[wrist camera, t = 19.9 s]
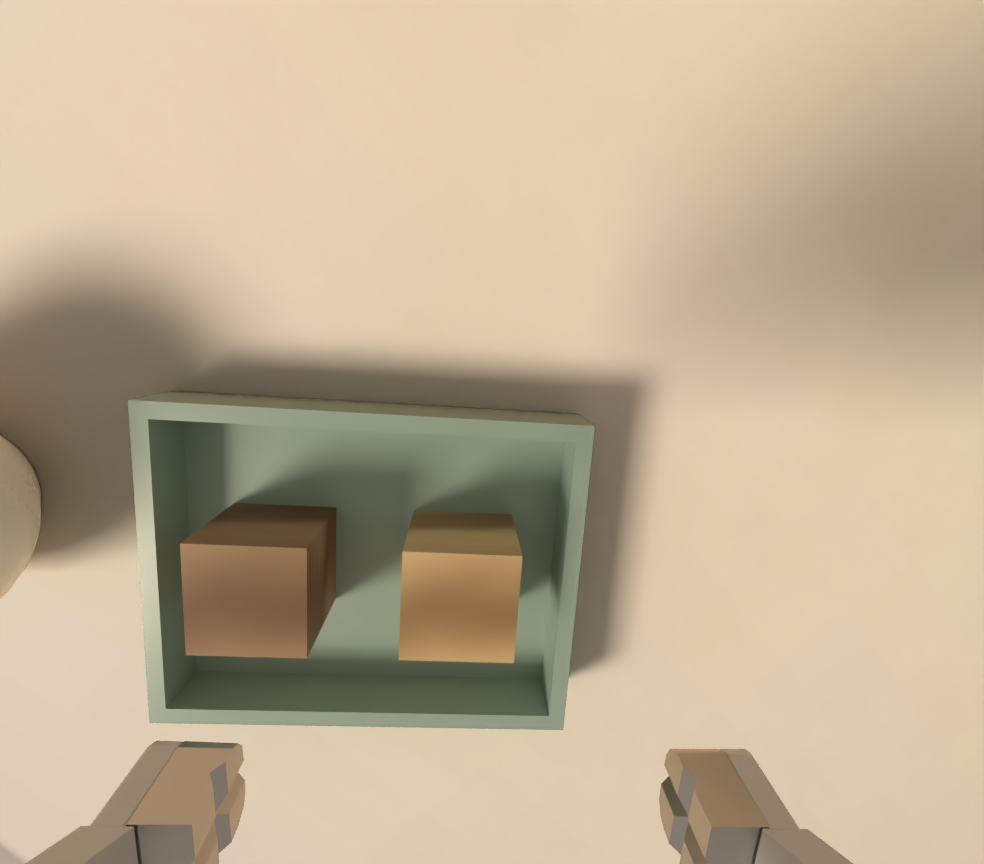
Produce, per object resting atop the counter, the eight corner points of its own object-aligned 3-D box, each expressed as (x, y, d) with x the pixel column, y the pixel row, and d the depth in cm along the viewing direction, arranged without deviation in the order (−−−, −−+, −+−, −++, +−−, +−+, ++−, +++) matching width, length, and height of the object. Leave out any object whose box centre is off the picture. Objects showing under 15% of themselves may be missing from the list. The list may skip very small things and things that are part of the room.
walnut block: (234, 502, 23) (179, 543, 19) (336, 507, 23) (306, 548, 19) (237, 595, 24) (185, 655, 19) (335, 598, 24) (306, 658, 20)
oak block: (414, 510, 24) (402, 551, 19) (511, 514, 24) (522, 556, 19) (410, 600, 24) (398, 660, 20) (504, 603, 25) (513, 663, 20)
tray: (172, 390, 22) (127, 400, 19) (578, 413, 24) (595, 426, 21) (187, 675, 25) (149, 723, 22) (551, 683, 26) (563, 729, 23)
